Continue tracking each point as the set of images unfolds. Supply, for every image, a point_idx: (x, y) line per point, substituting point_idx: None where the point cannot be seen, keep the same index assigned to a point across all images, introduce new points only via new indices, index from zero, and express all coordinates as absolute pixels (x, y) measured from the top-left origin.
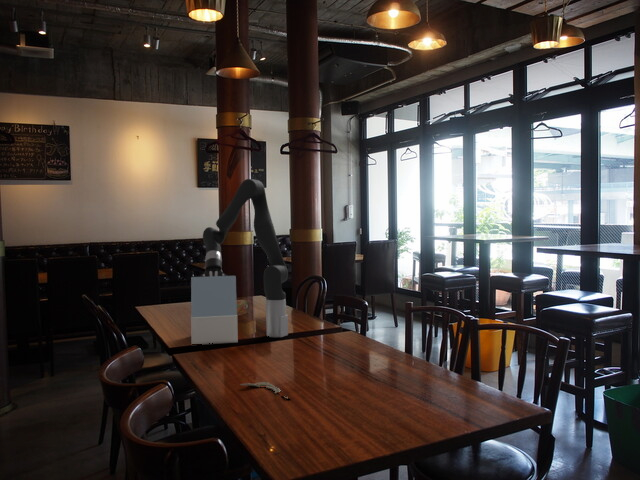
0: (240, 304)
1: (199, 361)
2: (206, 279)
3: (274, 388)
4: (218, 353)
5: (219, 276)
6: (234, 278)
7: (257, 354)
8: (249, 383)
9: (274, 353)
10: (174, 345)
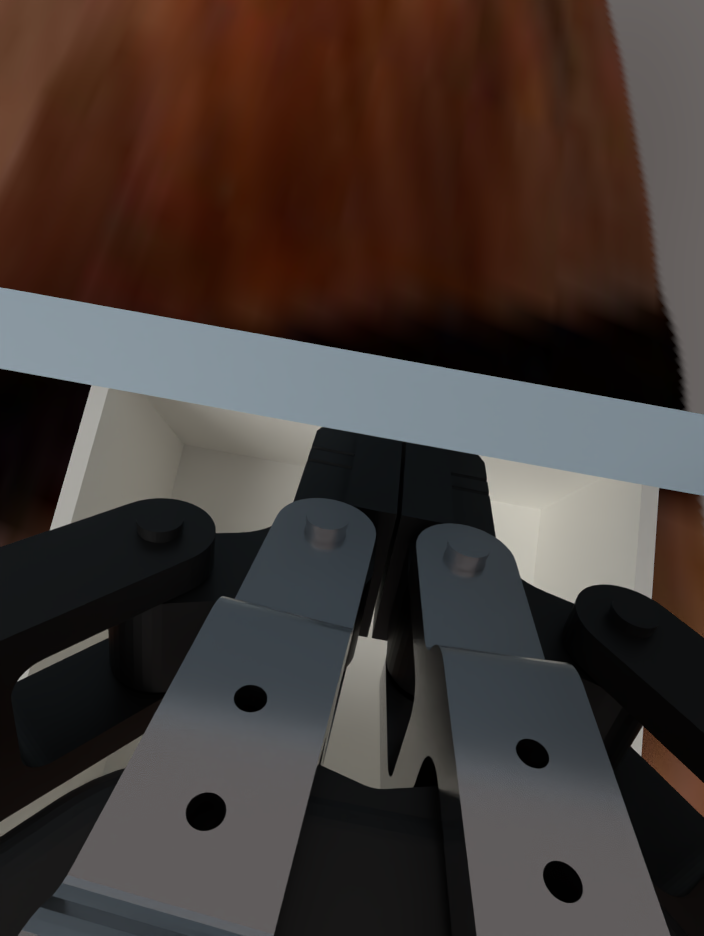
0: None
1: (524, 84)
2: None
3: None
4: (384, 199)
5: (113, 311)
6: None
7: (149, 80)
8: None
9: (38, 58)
10: (681, 552)
